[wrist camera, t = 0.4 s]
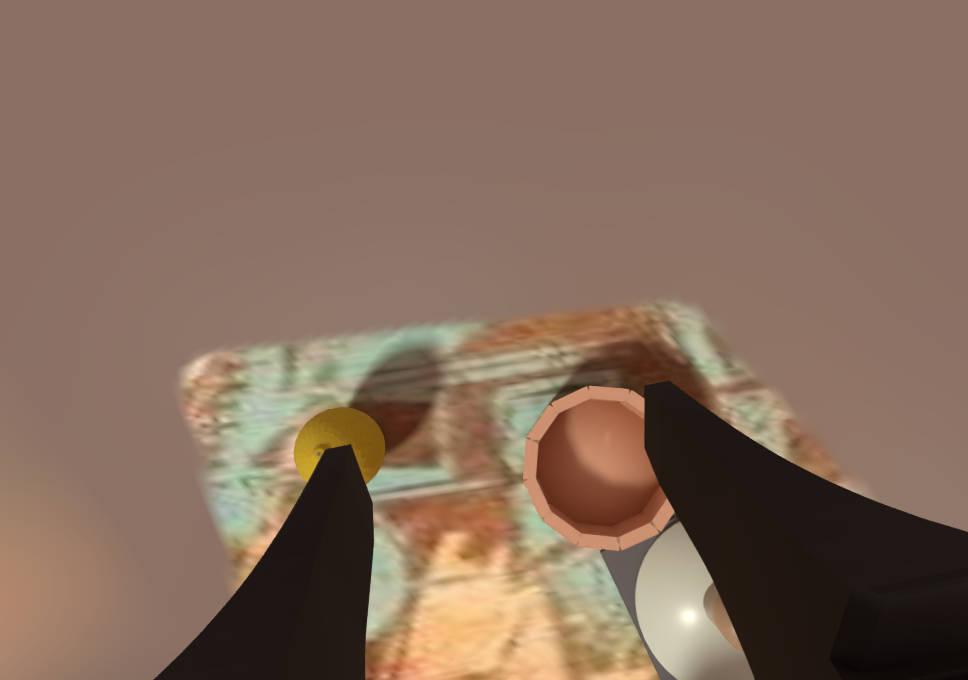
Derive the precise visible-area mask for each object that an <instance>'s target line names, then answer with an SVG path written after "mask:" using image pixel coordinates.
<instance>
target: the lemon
mask: <svg viewBox="0 0 968 680" xmlns="http://www.w3.org/2000/svg"><path fill="white" fill-rule="evenodd" d="M349 444H351V445H352V448H353V451H354V453H355V456H356V459H357V462H358V464H359V467H360V470H361V473H362V475H363V478H364V481H365V484H367V483H369V482H370V481H371V480H372V479H373V477H374V476H375V475H376V474H377V472H378V471H379V469H380V467H381V466H382V463H383V460H384V457H385V441H384V435H383V433H382V431H381V429H380V427H379V425H378V424H377V423H376V422H375V421H374V420H373V419H372V418H371V417H370V416H368V415H367V414H365V413H364V412H361V411H359V410H356V409H353V408H343V407H340V408H334V409H328V410H326V411H324V412H321V413H319V414H317V415H316V416H314V417H313V418H312V419H311V420H309V421H308V422H307V423H306V424H305V426H304V427H303V428H302V429H301V431H300V432H299V434H298V437H297V439H296V442H295V447H294V461H295V464H296V467H297V470H298V472H299V473H300V475H301V477H302V478H303V479H304V480H305V481H306V482H308V481H309V479H310V477H311V475H312V473H313V471H314V469H315V467H316V465H317V463H318V461H319V460H320V458H321V456H322V454H323V452H324V451H325V450H326V449H329V448H334V447H339V446H344V445H349Z"/></svg>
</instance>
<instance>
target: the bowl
mask: <svg viewBox="0 0 968 680" xmlns="http://www.w3.org/2000/svg"><path fill="white" fill-rule="evenodd" d="M617 402H618V403H617ZM536 473H537V474H536ZM523 479H524V481H523V482H524V484H525V486H526V488H527V490H528V493H529V495H530V497H531V499H532V501H533V504H534V506H535V508H536V510H537V512H538V514H539V517H540V519H541V518H542V521H543V522H544V523H546V524H547V525H548V526H550V527H551V528H553V529H554V530H555V531H557V532H558V533H559V534H561V535H562V536H564V537H565V538H566V539H568V540H569V541H570V542H572V543H573V544H574V545H576V544H578V546H579V547H588V548H597V549H606V550H615V551H619V547H620V548H621V550H624V549H626V548H629V547H631V546H633V545H635V544H637V543H640V542H642V541H644V540H646V539H648V538H650V537H653V536H655V535H657V534H659V533H658V531H657V529H658V530H659V531H662V530H663V528H664V527H665V525H666V524H667V522H668V521H669V519H670V518H671V516H672V515H673V513H674V510H673V508H672V506H671V504H670V503H669V501H668V499H667V497H666V496H665V494H664V492H663V490H662V488H661V487H660V485H659V483H658V480H657V478H656V475H655V473H654V471H653V468H652V466H651V463H650V461H649V458H648V456H647V453H646V451H645V448H644V398H643V397H641V396H640V395H638V394H637V393H635V392H634V391H632V390H629V389H622V388H611V387H599V386H588V387H587V386H586V387H584V388H582V389H580V390H577V391H575V392H573V393H571V394H569V395H567V396H565V397H562V398H560V399H558V400H556V401H554V402H552V403H550V405H547V407H546V408H545V410H544V411H543V413H542V414H541V416H540V417H539V419H538V420H537V421H536V423H535V424H534V426H533V427H532V429H531V430H530V432H529V433H528V435H527V438H526V447H525V460H524V472H523ZM549 501H550V502H549Z"/></svg>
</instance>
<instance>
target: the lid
mask: <svg viewBox="0 0 968 680" xmlns="http://www.w3.org/2000/svg"><path fill="white" fill-rule="evenodd" d="M635 608H636V615H637V619H638V623H639V626H640V629H641V631H642V634H643V636H644V638H645V641H646V642H647V644H648V646H649V648H650V650H651V651H652V653H653V654H654V656H655V657H656V658H657V660H658V661H659V662H660V664H661V665H662V666H663V667H664V668H665V669H666V670H667V671H668V672H669V673H670V674H671V675H673V676H674V677H675V678H676V679H677V680H755V679H754V676H753V674H752V671H751V669H750V666H749V664H748V661H747V659H746V656H745V654H744V651H743V649H742V647H741V644H740V642H739V640H738V637H737V635H736V633H735V630H734V628H733V625H732V623H731V621H730V618H729V616H728V614H727V612H726V609H725V607H724V605H723V603H722V600H721V598H720V596H719V594H718V591H717V589H716V587H715V585H714V582H713V580H712V578H711V576H710V574H709V572H708V570H707V568H706V566H705V564H704V562H703V561H702V559H701V557H700V555H699V554H698V552H697V550H696V548H695V547H694V545H693V543H692V541H691V540H690V538H689V536H688V534H687V533H686V531H685V529H684V527H683V526H682V524H681V522H680V520H679V521H677V522H675V523H673V524H672V525H670V526H669V527H668V528H666V529H665V530H664V531H663V532H662V533H661V534H660V535H659V536H658V537H657V538H656V539H655V540H654V541H653V543H652V544H651V545H650V546H649V548H648V550H647V551H646V553H645V555H644V557H643V559H642V561H641V564H640V566H639V569H638V573H637V577H636V583H635Z"/></svg>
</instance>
